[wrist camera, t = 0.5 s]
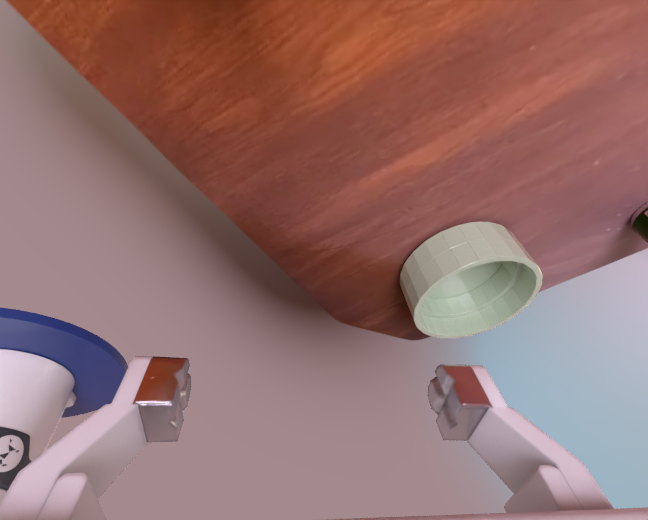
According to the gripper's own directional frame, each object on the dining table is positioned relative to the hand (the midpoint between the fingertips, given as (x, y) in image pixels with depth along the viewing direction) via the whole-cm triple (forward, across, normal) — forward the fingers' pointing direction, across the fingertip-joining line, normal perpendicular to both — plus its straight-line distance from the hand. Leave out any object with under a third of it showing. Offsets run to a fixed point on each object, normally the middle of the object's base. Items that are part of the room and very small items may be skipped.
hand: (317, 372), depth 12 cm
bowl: (+30, +22, -14) cm, 40 cm away
